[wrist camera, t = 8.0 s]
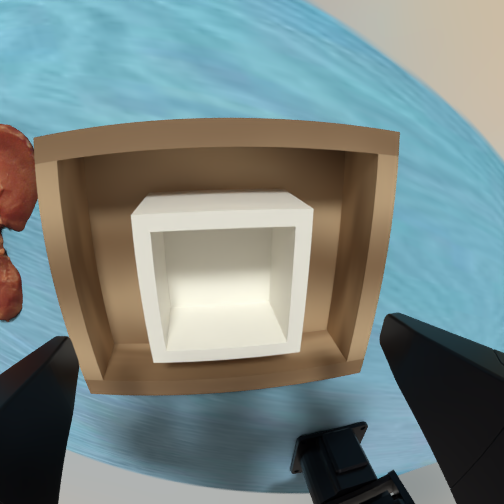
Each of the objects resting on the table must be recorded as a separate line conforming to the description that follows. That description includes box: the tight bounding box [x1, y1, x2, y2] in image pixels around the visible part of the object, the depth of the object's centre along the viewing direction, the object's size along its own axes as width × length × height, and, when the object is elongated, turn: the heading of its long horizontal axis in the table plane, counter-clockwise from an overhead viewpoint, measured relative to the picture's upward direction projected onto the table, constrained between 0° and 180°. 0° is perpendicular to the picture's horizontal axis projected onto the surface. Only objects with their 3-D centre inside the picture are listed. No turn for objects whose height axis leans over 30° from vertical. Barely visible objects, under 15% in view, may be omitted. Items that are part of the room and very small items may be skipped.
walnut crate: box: [34, 118, 400, 395], centre depth 14 cm, size 12×14×4 cm
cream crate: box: [131, 189, 314, 363], centre depth 13 cm, size 6×6×4 cm
